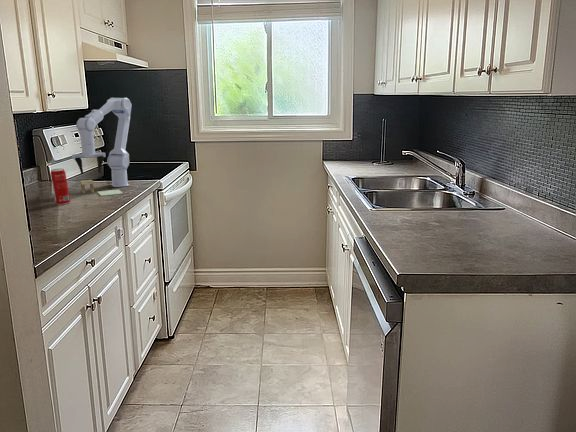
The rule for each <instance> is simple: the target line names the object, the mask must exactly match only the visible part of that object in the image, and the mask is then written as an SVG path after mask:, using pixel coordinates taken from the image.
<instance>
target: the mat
mask: <svg viewBox="0 0 576 432" xmlns="http://www.w3.org/2000/svg"><path fill="white" fill-rule="evenodd" d="M97 194H99V196H100V197H106V196H116V195H117V196H119V195H123V194H124V193H123V192H122V190H120V189H111V190H110V189H108V190H101V191H98V190H97Z"/></svg>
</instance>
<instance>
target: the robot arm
mask: <svg viewBox="0 0 576 432" xmlns="http://www.w3.org/2000/svg"><path fill="white" fill-rule="evenodd" d="M132 106H133V105H132V102H131V100H130V99H129V98H128V97H110V98H109V99H107V100H106V103H104V104H103V105H102V106H101V107H100V108H99V109H92V110H91V112H89V113H88V114H86V115H84V117H79V118H78V120H77V121H76V124H75V127H76V129H77V130H78V134H79V135H80V145H81V153H75V154H71V159H72V160H74V161H75V162H76V164H77V166H78V168H79V171H80V174H81V175H84V171H83V170H84V169H83V160H82V159H91V158H93V159H94V158H96V162H97V172H98V174H100V173H101V170H102V166H103V162H104V159H105V158H106V157H107V156H106V152H96V148H95V147H96V146H95V145H96V144H95V137H94V131H95V129H96V126H97V125H98V124H99V123H100V122H101V121H103V119H104V118H105V117H104V116H105V115H107V114H109V113H110V112H112V113H113V114H114V115H115V116H117V118H118V120H117V129H116V135H115V141H114V147H113V149H111V150H109V151H110V152H109V154H108V157H107V161H106V162H107V165H108V166H109V169H111V182H112V183H110V185H111V186H112V188H121V187H122V188H123V187H130V186H131V184H129V183H128V173H127V172H128V171H127V169H128V167H129V166H130V154H129V152H128V151H127V150H126V149H127V142H128V134H129V128H130V122H131V114H132Z"/></svg>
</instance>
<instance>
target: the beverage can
mask: <svg viewBox="0 0 576 432" xmlns="http://www.w3.org/2000/svg"><path fill="white" fill-rule="evenodd" d="M50 178H51V184H52V188H53V194H54V200H55V204H56V205H59V206H60V205H61V206H63V205H68V204H70V203H71V199H70V198H71V197H70V192H69V187H68V182H67V174H66V170H65V169H64V168H53V169H51V170H50Z"/></svg>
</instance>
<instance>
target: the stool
mask: <svg viewBox="0 0 576 432" xmlns="http://www.w3.org/2000/svg"><path fill="white" fill-rule="evenodd" d="M85 185H89V189H90V192H91V194H95V186H94V181H93V180H92V179H86V180H80V189H81V190H80V191H81V193H82V194H83V195H85V194H86V189H85V187H86V186H85Z"/></svg>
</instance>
